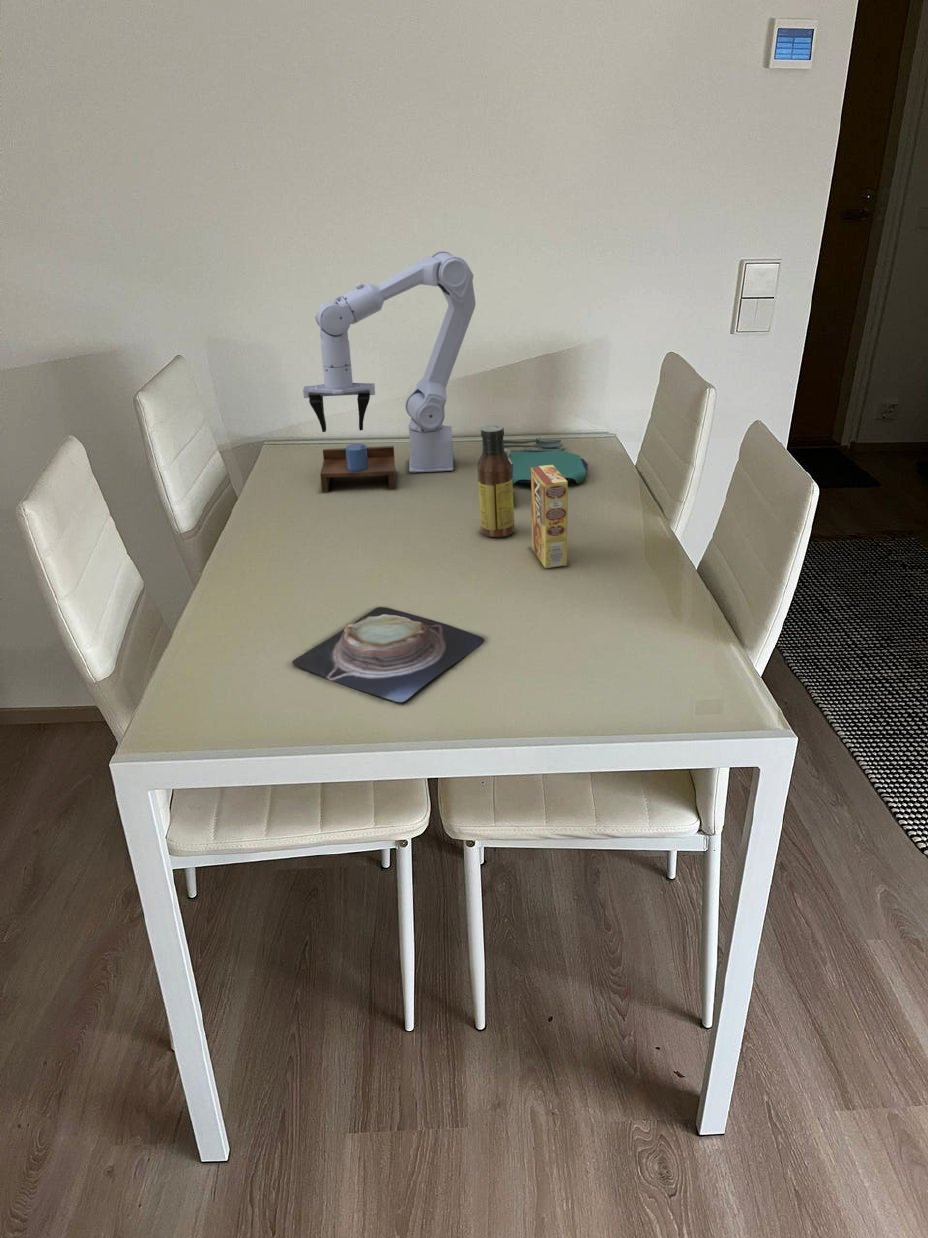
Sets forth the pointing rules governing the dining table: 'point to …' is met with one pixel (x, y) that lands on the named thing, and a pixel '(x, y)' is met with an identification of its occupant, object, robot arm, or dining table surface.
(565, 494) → the candy box
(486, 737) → the dining table surface
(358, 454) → the blue cup
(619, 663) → the dining table surface
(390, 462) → the shelf
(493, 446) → the sauce bottle
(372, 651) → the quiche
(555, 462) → the cutlery set
